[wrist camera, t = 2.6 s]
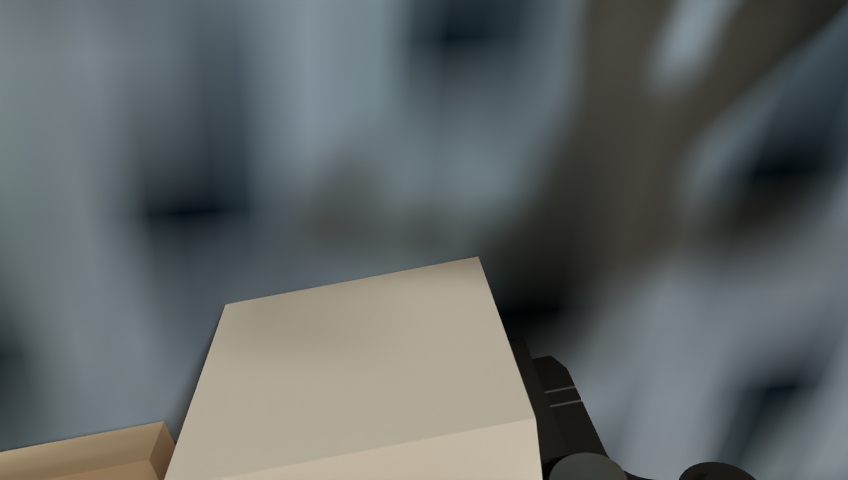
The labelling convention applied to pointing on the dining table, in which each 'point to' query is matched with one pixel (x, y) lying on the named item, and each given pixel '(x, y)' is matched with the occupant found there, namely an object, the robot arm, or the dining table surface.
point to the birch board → (95, 457)
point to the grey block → (363, 386)
